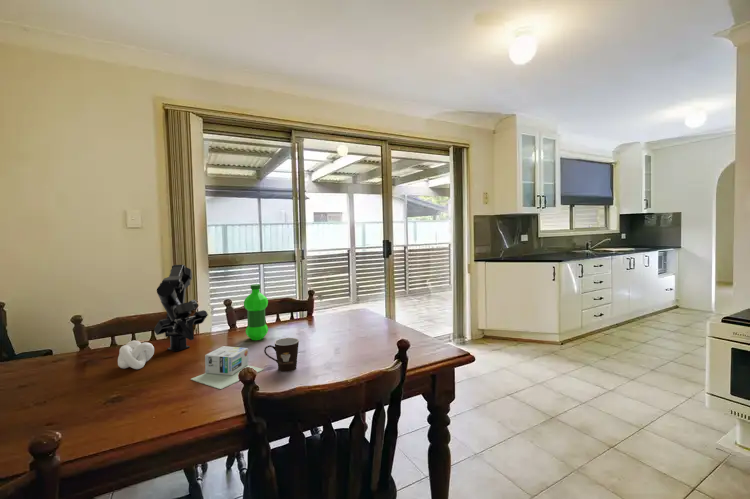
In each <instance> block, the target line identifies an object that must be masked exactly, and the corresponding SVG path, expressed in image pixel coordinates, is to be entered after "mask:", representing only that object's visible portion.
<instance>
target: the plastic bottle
mask: <svg viewBox="0 0 750 499" xmlns="http://www.w3.org/2000/svg"><path fill="white" fill-rule="evenodd" d="M260 289H261V284H260V283H259V284H257V283H255V284H250V290H251V293H250V294H248V296H246V297H245V299H244V300H243V306H244V309H245V310H246V313H247V319H246V321H247V326H246V328H245V334H246V336H247V337H248V338H249V339H251V341H261V340H263V339H264V338H265V336H266V335H267V334H268V332H269V327H268V325H267V322H266V319H267V318H266V308H267V307H268V304H269V300H268V298H267V297H266V296H265V295H264V294H263V293H261V292H260Z"/></svg>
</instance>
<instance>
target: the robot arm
mask: <svg viewBox="0 0 750 499" xmlns="http://www.w3.org/2000/svg"><path fill="white" fill-rule="evenodd" d="M169 272H170V273H169V275H168V277H164V278H163V280H162V281H161V282H160V283H159V285H158V287H157V288H156V293H157V295H158V298H159V301H160V303H161V305H162V307H163V309H164V310H165V311H166V315H165V316H166V318H164V319H159V320H158V322H157V324H156V325H155V327H154V329H153V330H154V331H153V332H154V333H155V335H157V336H159V335H162V334H165V337H169V341H170V347H166V350H168V351H172V352H175V353H176V352H179V351H183V350H187V349H188V348H190V345H187V339H188V340H190V341H193V340H194V338H195V335H194V326H197V325H201V324H203V323H204V322H205V321H206V318H207V317H208V316H209V314H208V312H207V311H206V310H205V309H204V310H199V311H195V310H196V309H197V308H198V307H199V304H198V302H197V301H196V299H191V300H190V301H187V302H186V290H187V288H188V287H189V286H190V285H191V280H192V279H193V272H192V269H191V268H189V267H187V266H186V264H173V265H172V266H171V269H170V271H169ZM192 311H195V313H194V314H193V315H192V316H191V314H192ZM193 325H194V326H193Z"/></svg>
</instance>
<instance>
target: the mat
mask: <svg viewBox="0 0 750 499" xmlns="http://www.w3.org/2000/svg"><path fill="white" fill-rule="evenodd" d="M246 367H250V368H253V369H254V370H256V371H257V373H256V374H259V373H260V372H263V371H264V370H265V369H264V368H261V367H257V366H253V365H249V364H248V365H247V366H245V367H244V368H246ZM242 369H243V368H242ZM242 369H240V370H239V371H238V372H236V373H235V374H234V375H222V374H211V373H205V372H204V373H203V374H199V375H197V376H193V377H192V378H190V381H194V382H196V383H198V384H199V383H200V384H202V385H206V386H209V387H211V388H215V389H218V390H220V389H221V390H222V389H223V390H224V389H225V388H227V387H230V386H231V385H234V384H236V383H239V382H240V381H239V379H238V373H239V372H240V371H241V370H242Z"/></svg>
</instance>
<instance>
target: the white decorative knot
mask: <svg viewBox="0 0 750 499" xmlns="http://www.w3.org/2000/svg"><path fill="white" fill-rule="evenodd" d="M154 354H155V347H154V346H153V344H152V343H150V342H141V341H139V340H134V339H133V340H131V341H129V342H127V343H126V344H123V345H122V346H121V347H120V348H119V354H118V357H117V366H118V367H119V368H120V369H124V370H126V369H128V368H132V369H134V370H140V369H142V368H144V366H145V364H146V363H147V362H148V361H149V360H151V359H152V358H153V355H154Z"/></svg>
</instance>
